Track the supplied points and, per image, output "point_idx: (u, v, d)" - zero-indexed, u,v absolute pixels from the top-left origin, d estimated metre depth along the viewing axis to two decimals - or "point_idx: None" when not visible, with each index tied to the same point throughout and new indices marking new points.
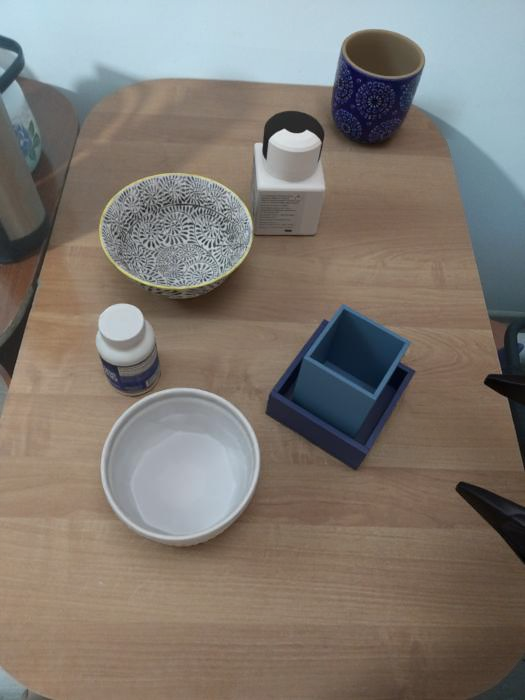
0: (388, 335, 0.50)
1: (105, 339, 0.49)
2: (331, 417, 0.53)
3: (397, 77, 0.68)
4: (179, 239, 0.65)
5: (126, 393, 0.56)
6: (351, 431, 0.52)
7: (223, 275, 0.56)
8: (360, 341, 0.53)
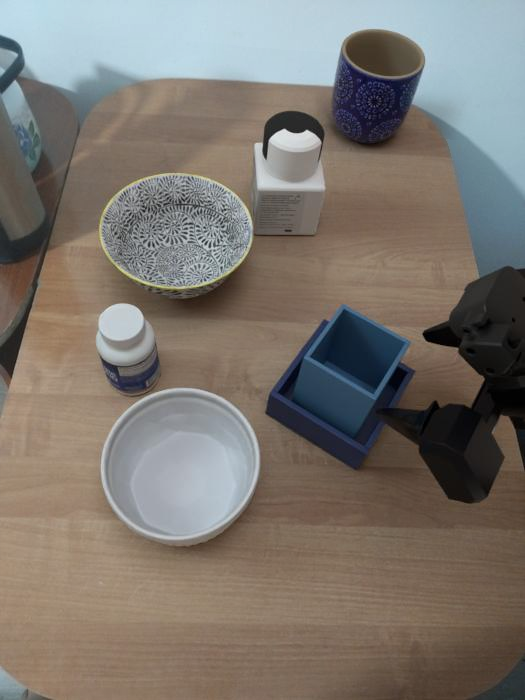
0: (388, 335, 0.50)
1: (105, 339, 0.49)
2: (331, 417, 0.53)
3: (397, 77, 0.68)
4: (179, 239, 0.65)
5: (126, 393, 0.56)
6: (351, 431, 0.52)
7: (223, 275, 0.56)
8: (360, 341, 0.53)
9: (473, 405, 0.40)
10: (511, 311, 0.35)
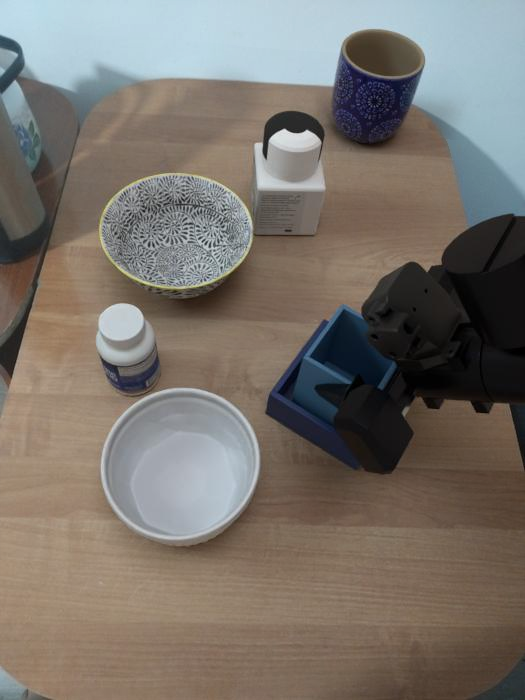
0: None
1: (105, 339, 0.49)
2: (331, 417, 0.53)
3: (397, 77, 0.68)
4: (179, 239, 0.65)
5: (126, 393, 0.56)
6: None
7: (223, 275, 0.56)
8: (360, 341, 0.53)
9: (389, 387, 0.44)
10: (412, 301, 0.39)
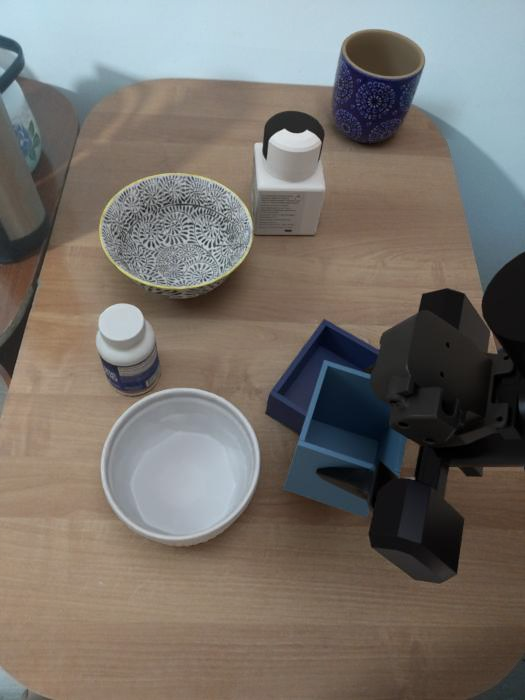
0: None
1: (105, 339, 0.49)
2: (339, 495, 0.43)
3: (397, 77, 0.68)
4: (179, 239, 0.65)
5: (126, 393, 0.56)
6: (366, 506, 0.43)
7: (223, 275, 0.56)
8: (352, 396, 0.43)
9: (417, 465, 0.35)
10: (437, 365, 0.30)
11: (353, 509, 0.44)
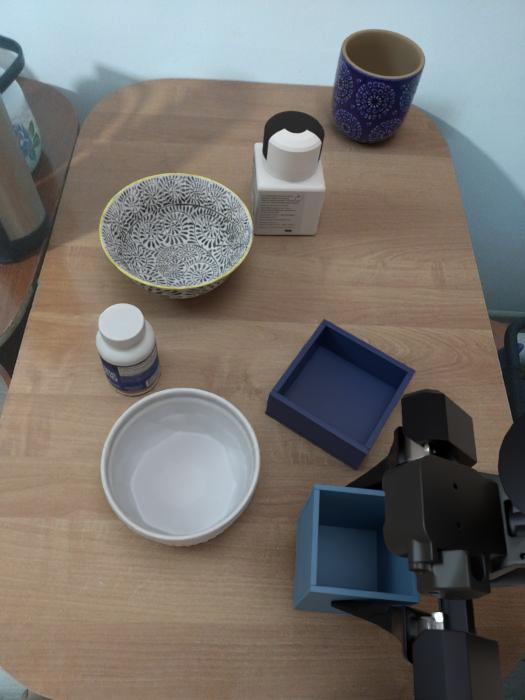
0: (384, 497, 0.39)
1: (105, 339, 0.49)
2: None
3: (397, 77, 0.68)
4: (179, 239, 0.65)
5: (126, 393, 0.56)
6: None
7: (223, 275, 0.56)
8: (346, 506, 0.41)
9: None
10: (452, 515, 0.29)
11: None
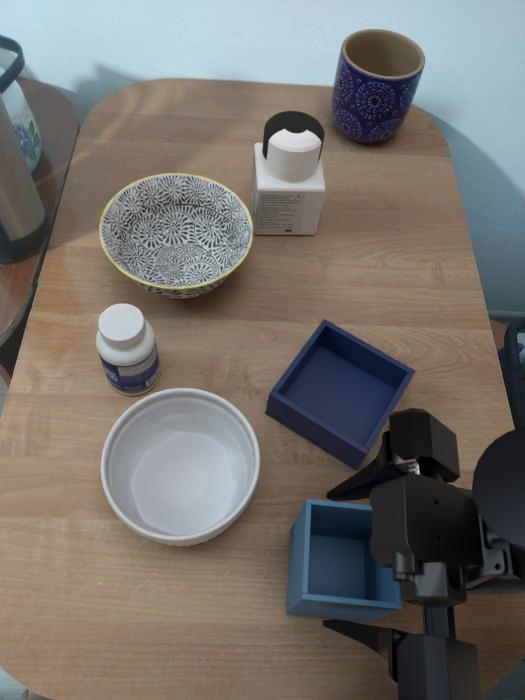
0: (371, 511, 0.42)
1: (105, 339, 0.49)
2: (342, 615, 0.44)
3: (397, 77, 0.68)
4: (179, 239, 0.65)
5: (126, 393, 0.56)
6: (369, 619, 0.45)
7: (223, 275, 0.56)
8: (336, 518, 0.45)
9: None
10: (433, 529, 0.31)
11: (356, 620, 0.46)
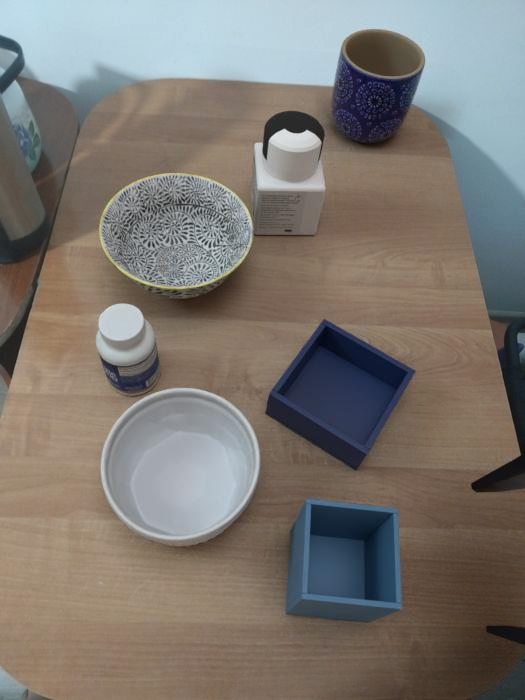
0: (371, 511, 0.42)
1: (105, 339, 0.49)
2: (342, 615, 0.44)
3: (397, 77, 0.68)
4: (179, 239, 0.65)
5: (126, 393, 0.56)
6: (369, 619, 0.45)
7: (223, 275, 0.56)
8: (336, 518, 0.45)
9: None
10: None
11: (356, 620, 0.46)
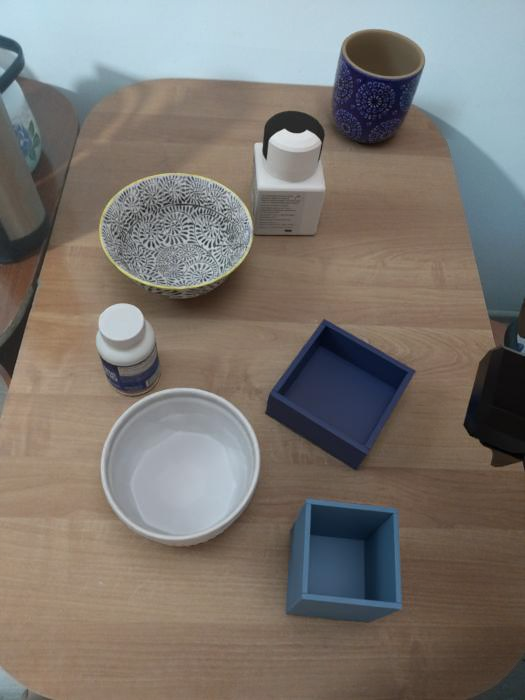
0: (371, 511, 0.42)
1: (105, 339, 0.49)
2: (342, 615, 0.44)
3: (397, 77, 0.68)
4: (179, 239, 0.65)
5: (126, 393, 0.56)
6: (369, 619, 0.45)
7: (223, 275, 0.56)
8: (336, 518, 0.45)
9: None
10: None
11: (356, 620, 0.46)
